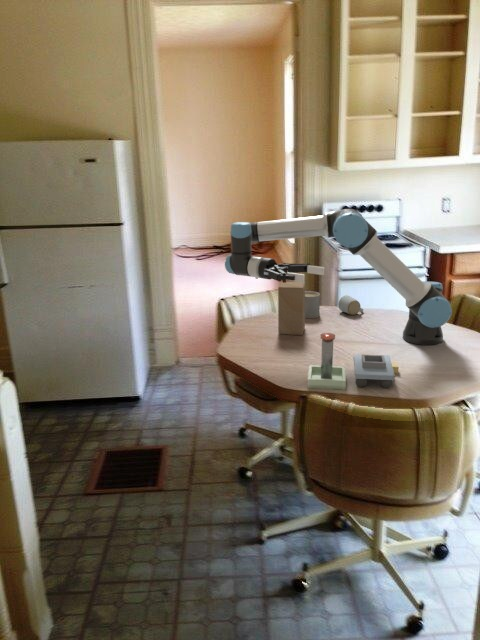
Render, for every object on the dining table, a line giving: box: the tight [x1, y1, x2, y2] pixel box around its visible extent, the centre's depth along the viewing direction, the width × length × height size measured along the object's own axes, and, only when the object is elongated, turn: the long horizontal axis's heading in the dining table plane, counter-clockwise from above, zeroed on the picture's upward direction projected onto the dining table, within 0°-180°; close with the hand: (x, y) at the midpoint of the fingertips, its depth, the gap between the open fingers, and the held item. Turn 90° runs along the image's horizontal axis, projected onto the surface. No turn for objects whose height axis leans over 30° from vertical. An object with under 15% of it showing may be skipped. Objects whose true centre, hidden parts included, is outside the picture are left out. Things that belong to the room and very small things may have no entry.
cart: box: [353, 353, 399, 389], centre depth 186 cm, size 15×18×7 cm
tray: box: [307, 364, 347, 391], centre depth 186 cm, size 12×12×3 cm
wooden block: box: [277, 281, 306, 336], centre depth 234 cm, size 10×10×20 cm
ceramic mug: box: [337, 295, 364, 316], centre depth 259 cm, size 11×8×8 cm
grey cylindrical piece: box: [305, 290, 321, 319], centre depth 258 cm, size 13×10×10 cm
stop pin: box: [320, 332, 336, 379], centre depth 184 cm, size 5×5×15 cm
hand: (314, 274), depth 193 cm, fingers open, 13 cm apart
